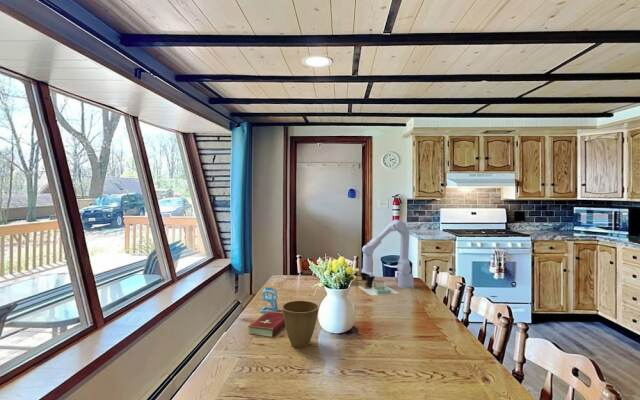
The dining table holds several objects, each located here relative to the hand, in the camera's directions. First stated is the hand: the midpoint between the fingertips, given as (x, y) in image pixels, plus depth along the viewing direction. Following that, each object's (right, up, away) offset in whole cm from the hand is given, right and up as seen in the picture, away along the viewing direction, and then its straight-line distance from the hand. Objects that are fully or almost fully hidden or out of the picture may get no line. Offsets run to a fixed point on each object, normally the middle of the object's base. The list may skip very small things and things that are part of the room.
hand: (367, 285), depth 242 cm
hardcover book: (-53, -5, -66) cm, 85 cm away
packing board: (+6, -2, -4) cm, 8 cm away
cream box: (+8, -1, +2) cm, 8 cm away
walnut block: (0, -1, 0) cm, 1 cm away
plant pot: (-38, -5, -85) cm, 94 cm away
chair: (-56, -4, -44) cm, 71 cm away
